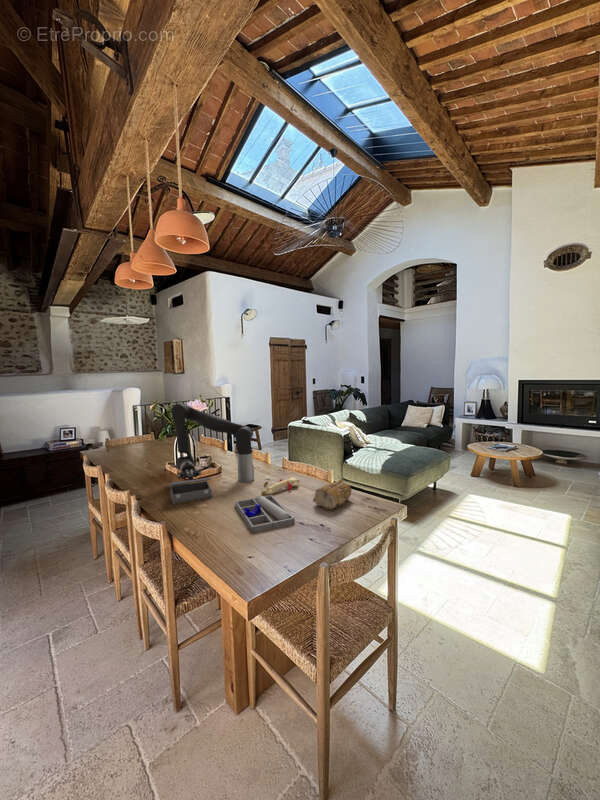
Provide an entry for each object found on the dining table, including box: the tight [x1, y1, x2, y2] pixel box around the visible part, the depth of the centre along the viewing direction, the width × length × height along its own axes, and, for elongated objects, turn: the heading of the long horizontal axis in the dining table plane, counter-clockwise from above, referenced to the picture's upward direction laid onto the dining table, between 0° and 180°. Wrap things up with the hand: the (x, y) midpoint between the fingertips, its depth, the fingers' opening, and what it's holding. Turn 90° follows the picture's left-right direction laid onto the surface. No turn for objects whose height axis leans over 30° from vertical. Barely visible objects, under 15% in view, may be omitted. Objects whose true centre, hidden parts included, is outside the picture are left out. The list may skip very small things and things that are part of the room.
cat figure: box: [261, 476, 300, 496], centre depth 195 cm, size 10×9×25 cm
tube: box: [256, 495, 290, 521], centre depth 164 cm, size 5×5×25 cm
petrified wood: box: [312, 479, 352, 511], centre depth 175 cm, size 19×13×10 cm
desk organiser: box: [234, 494, 296, 533], centre depth 163 cm, size 19×31×2 cm, turn 24°
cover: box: [169, 476, 212, 487], centre depth 187 cm, size 20×15×1 cm
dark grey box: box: [169, 480, 213, 505], centre depth 187 cm, size 20×15×5 cm
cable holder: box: [244, 504, 262, 518], centre depth 161 cm, size 8×4×4 cm, turn 134°
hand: (191, 478), depth 180 cm, fingers closed
